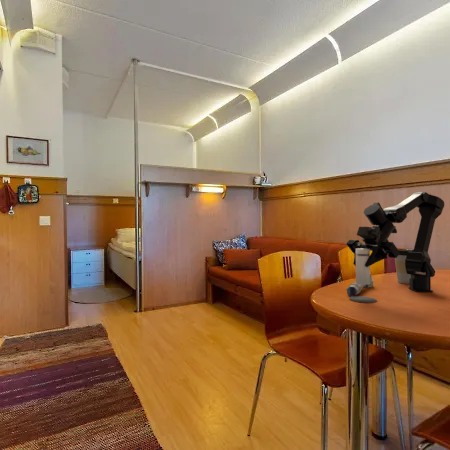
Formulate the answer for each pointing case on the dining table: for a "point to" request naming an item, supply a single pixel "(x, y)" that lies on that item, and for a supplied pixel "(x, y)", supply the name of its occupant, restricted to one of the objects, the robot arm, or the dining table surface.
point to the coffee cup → (402, 267)
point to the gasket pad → (362, 299)
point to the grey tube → (358, 287)
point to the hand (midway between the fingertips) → (360, 265)
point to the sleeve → (362, 266)
